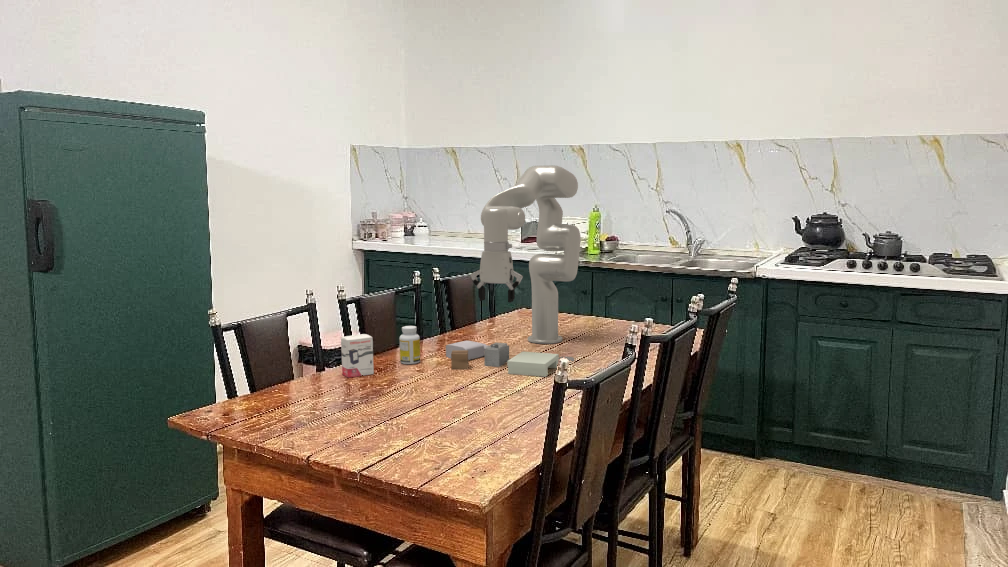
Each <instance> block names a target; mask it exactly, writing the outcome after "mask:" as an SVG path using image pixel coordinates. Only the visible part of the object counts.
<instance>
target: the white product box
mask: <svg viewBox="0 0 1008 567" xmlns="http://www.w3.org/2000/svg"><path fill="white" fill-rule="evenodd" d="M340 345H341V347H340V349H341V350H340V352H341V368H342V369H341V371H342V373H341V374H342V376H344V377H346V378H348V379H349V378H355V377H360V376H361V377H362V375H363V376H367V375H368V376H369V375H374V374H375V372H374V349H373V348H374V341H373V336H371V335H369V334H367V333H362V334H354V335H346V336H342V337H340Z"/></svg>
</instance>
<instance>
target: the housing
mask: <svg viewBox="0 0 1008 567" xmlns="http://www.w3.org/2000/svg"><path fill="white" fill-rule="evenodd" d="M483 359H484V366H485V367H496V368H500V367H501V366H504V365H505V364H507V361H508V360H510V345H508V343H507V342H497V341H496V342H494V343H491V344H490V345H489V346H488V347H486V350H484V356H483Z"/></svg>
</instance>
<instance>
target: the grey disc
mask: <svg viewBox="0 0 1008 567" xmlns="http://www.w3.org/2000/svg"><path fill="white" fill-rule="evenodd" d="M563 357H565V358H567V359H568V360H569V361H570V360H571V361H573V362H575V358H574V357H573V356H560V357H559V359H560V358H563ZM559 359H558V360H559Z"/></svg>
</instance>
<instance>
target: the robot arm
mask: <svg viewBox="0 0 1008 567" xmlns="http://www.w3.org/2000/svg"><path fill="white" fill-rule="evenodd" d="M578 190H579V182H578V179H577V177H576V175H574V174H573V173H572V172H571V171H569V170H567V169H565V168H564V167H562V166H560V165H533V166H530V167H528V168H527V169H526V170H525V171H524V173H522V175H520V178H518V180H517V182H516V183H515V184H514V185H513V186H511V187H509V188H507V189H505V190H503V191H501V192H499V193H497V194H495V195H493V196H492V197H490V199H489V200H488V201H487V203H486V204H485V205H484V206H483V208H482V211H481V214H480V222H481V225H482V226H483V251H481V257H480V265H479V269H477V270H476V271H474V272H472V273H470V278H471V280H472V282H473V284H474V285H475V286H476V289H478V291H477V292H478V294H477V296H478V298H479V301H480V302H483V301H485V300H486V288H485V285H486V284H499V285H500V284H505V285H506V286H507V287H508V290H507V302H508V303H512V302H514V301H515V298H516V297H515V294H516V292H515V290H516V288H517V287H519V285H520V284H521V282H522V280H523V277H524V276H523V275H522V274H520V273H519V272H518V271H515V270H514V265H513V263H514V262H513V257H512V253H511V251H509V249H512V248H513V244H512V243H509V234H508V232H509V231H510V230H511V231H512V230H516V231H517V230H519V229H521V228H522V227H523V226H524V224H525V222H526V215H525V211H524V210H523V209H524V208H526V207H529V206H532V205H533V204H534V203H535V201H536V203H537V206H538V212H539V213H538V222H537V223H538V224H537V230H536V231H537V232H536V245H537V247H538V248H539V249H541V250H543V251H555V252H557V251H558V252H563V254H561V253H560V254H559V253H556V254H555V253H537V254H534V255H533V256H531V258H530V259H529V262H528V270H529V271H528V272H529V276H530V282H531V335H529V336H528V337H527V341H528V342H529V343H533V344H543V345H545V344H547V345H548V344H557V343H561V342H562V341H563V336H561V335H559V291H558V287H557V286H556V285H555V283H554V282H572V281H574V280H575V279H576V277H577V274H578V270H579V268H578V267H579V262H580V261H579V260H580V259H579V258H580V252H581V241H582V240H581V239H582V238H581V232H580V229H579V228H578V227H577V226H576V225H574V224H564V223H563V218H564V217H563V216H564V215H563V214H564V213H563V207H562V206H561V204H560V203H559V201H557V199H570V198H573V197H574V196H576V194H577V193H578ZM478 275H479V278H478V277H477V276H478ZM514 278H516V280H515V281H514ZM479 279H480V280H479ZM513 281H514V282H513Z"/></svg>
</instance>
